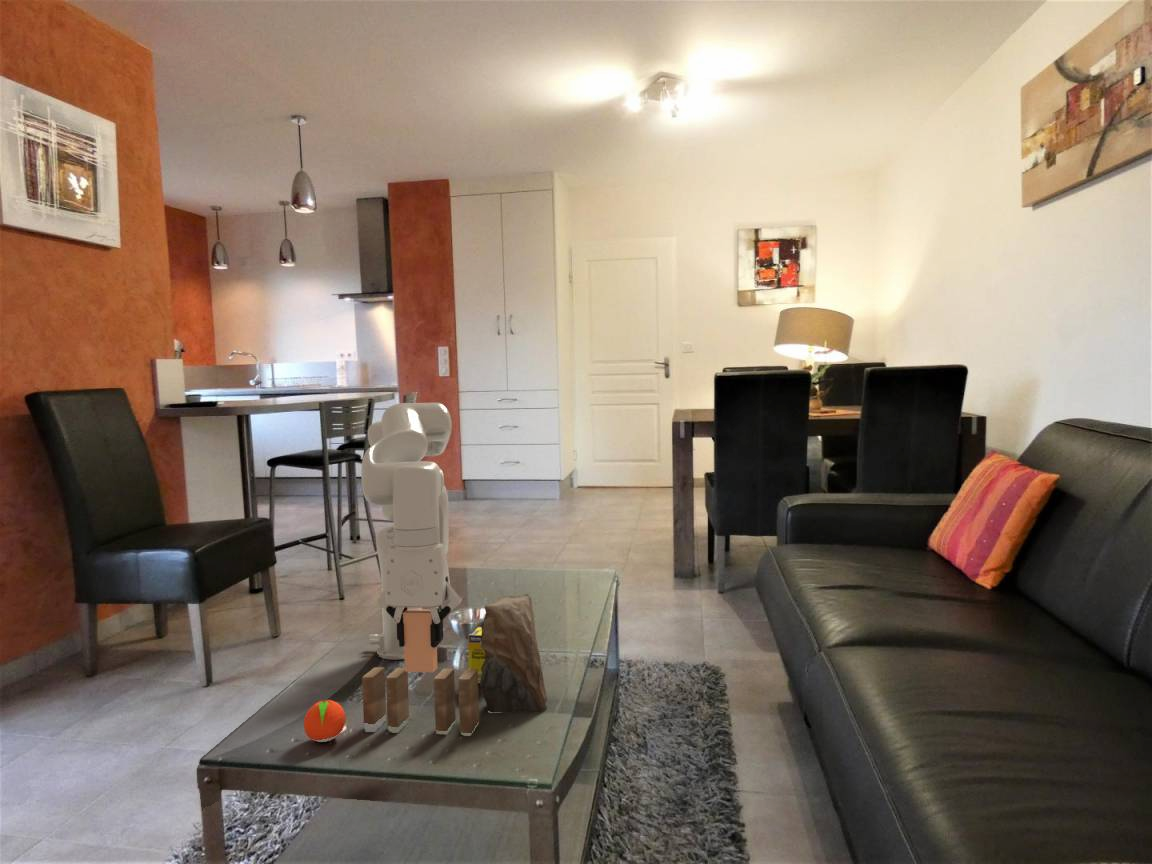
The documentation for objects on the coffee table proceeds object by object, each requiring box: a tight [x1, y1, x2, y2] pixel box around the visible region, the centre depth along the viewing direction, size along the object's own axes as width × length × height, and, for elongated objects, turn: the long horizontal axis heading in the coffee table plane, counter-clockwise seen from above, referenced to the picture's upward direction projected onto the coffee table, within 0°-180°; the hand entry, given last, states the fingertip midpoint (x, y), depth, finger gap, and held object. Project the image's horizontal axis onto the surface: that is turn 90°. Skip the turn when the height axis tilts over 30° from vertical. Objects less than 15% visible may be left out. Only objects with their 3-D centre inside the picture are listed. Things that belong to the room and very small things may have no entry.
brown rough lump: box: [480, 593, 548, 713], centre depth 132 cm, size 13×13×20 cm
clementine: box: [303, 699, 347, 740], centre depth 116 cm, size 8×7×7 cm
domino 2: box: [385, 667, 410, 727], centre depth 121 cm, size 2×5×10 cm, turn 172°
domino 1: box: [361, 666, 387, 724], centre depth 122 cm, size 2×5×10 cm, turn 172°
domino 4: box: [433, 668, 457, 731], centre depth 120 cm, size 2×5×10 cm, turn 172°
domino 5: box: [457, 668, 480, 733], centre depth 119 cm, size 2×5×10 cm, turn 172°
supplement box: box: [467, 626, 485, 688], centre depth 142 cm, size 6×6×11 cm
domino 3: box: [403, 608, 438, 673], centre depth 112 cm, size 2×5×10 cm, turn 82°
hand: (420, 643), depth 112 cm, fingers closed on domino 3, 4 cm apart
